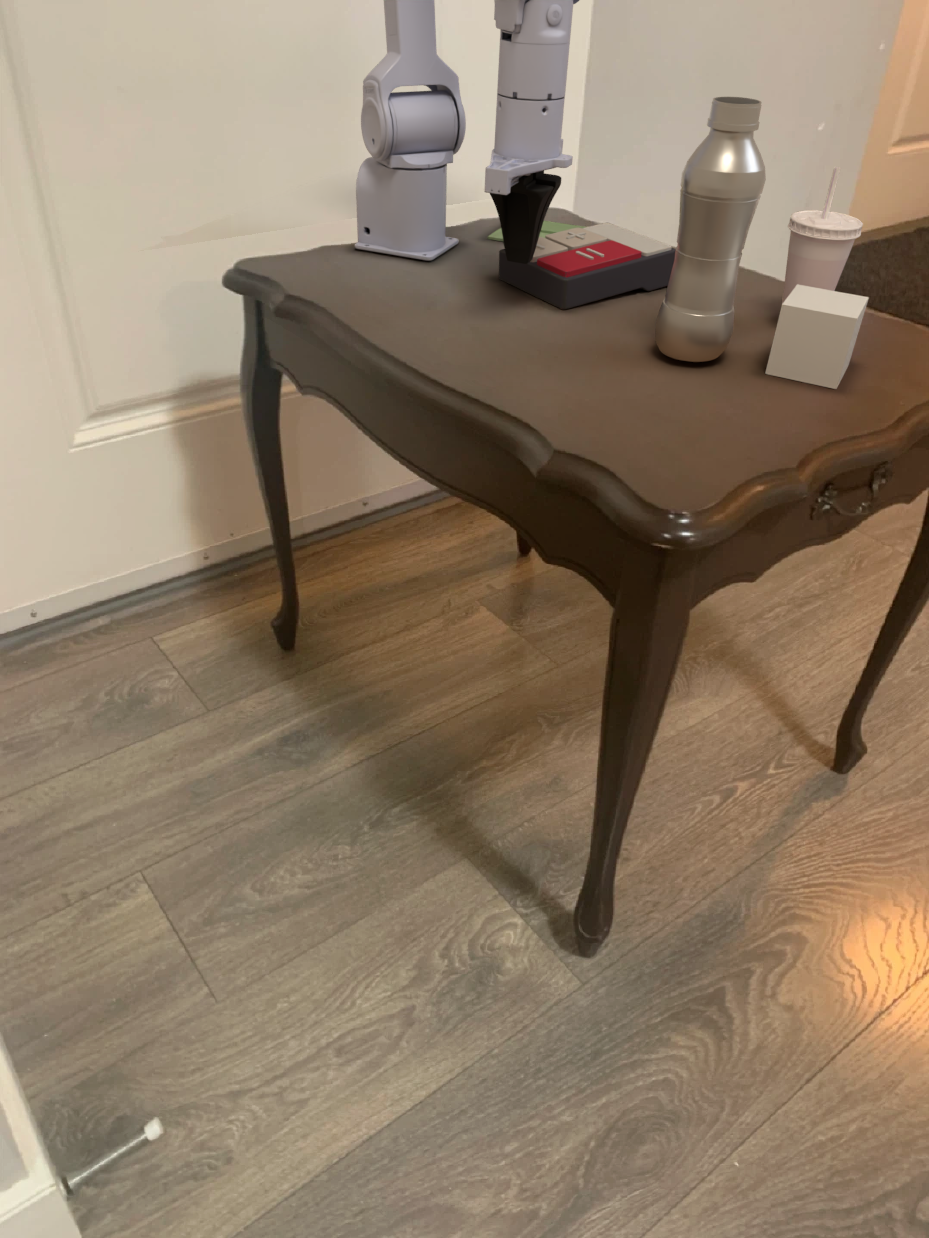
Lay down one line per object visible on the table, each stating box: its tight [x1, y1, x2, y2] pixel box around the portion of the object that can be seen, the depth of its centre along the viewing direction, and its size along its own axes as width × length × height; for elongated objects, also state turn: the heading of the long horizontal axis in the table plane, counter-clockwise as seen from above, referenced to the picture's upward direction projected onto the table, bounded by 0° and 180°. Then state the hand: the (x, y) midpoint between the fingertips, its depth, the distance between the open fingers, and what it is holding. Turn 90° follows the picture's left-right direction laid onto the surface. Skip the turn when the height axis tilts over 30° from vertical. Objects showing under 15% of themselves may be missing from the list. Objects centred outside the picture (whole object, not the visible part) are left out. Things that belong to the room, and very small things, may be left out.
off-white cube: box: [764, 284, 870, 390], centre depth 79 cm, size 6×6×6 cm
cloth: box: [487, 220, 586, 242], centre depth 110 cm, size 14×9×1 cm, turn 67°
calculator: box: [498, 222, 676, 310], centre depth 96 cm, size 11×4×15 cm
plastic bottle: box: [654, 96, 766, 363], centre depth 76 cm, size 6×7×20 cm
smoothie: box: [781, 166, 864, 305], centre depth 85 cm, size 6×6×14 cm
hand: (519, 260), depth 87 cm, fingers closed
